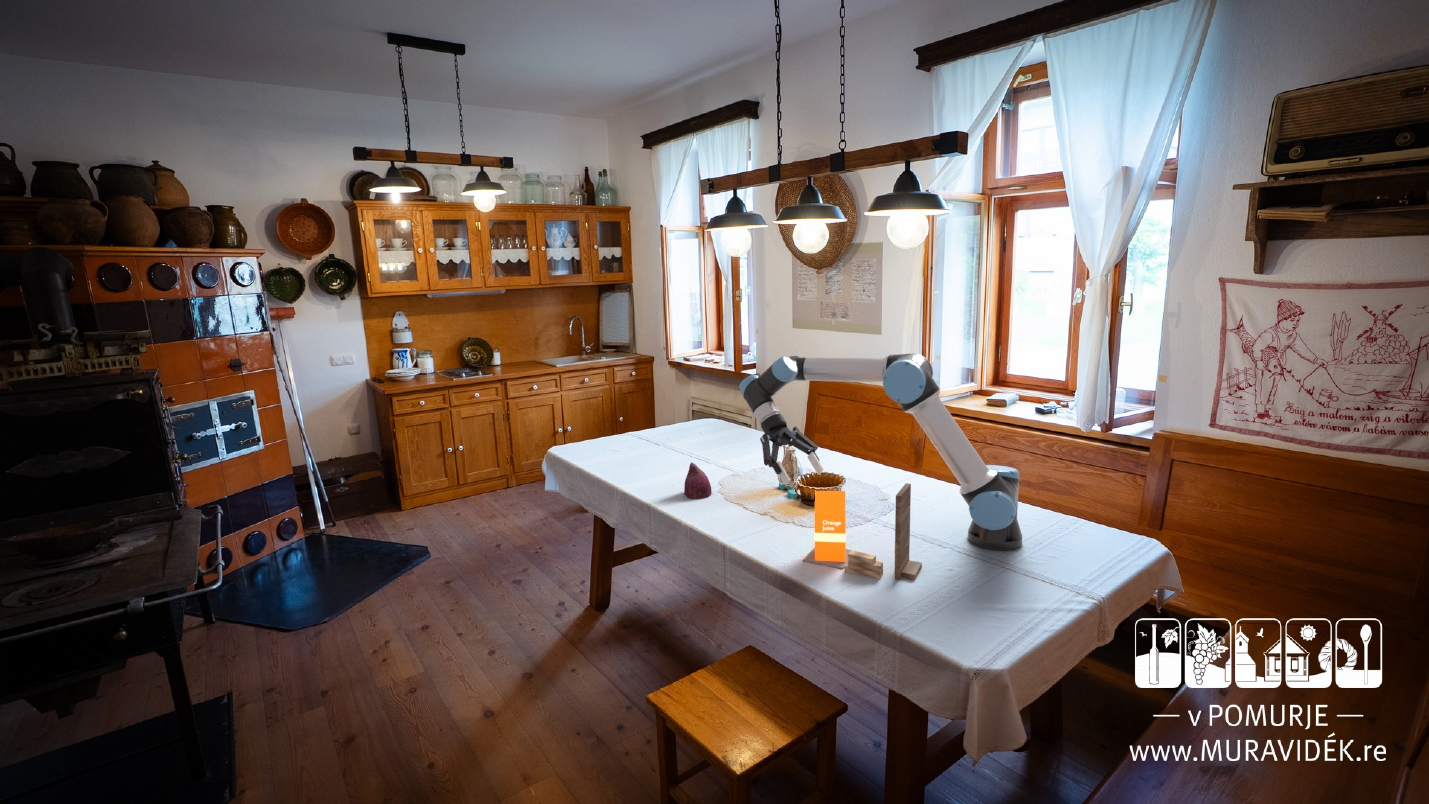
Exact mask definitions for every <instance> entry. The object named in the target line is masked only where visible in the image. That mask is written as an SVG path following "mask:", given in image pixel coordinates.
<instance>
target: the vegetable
mask: <svg viewBox="0 0 1429 804" xmlns="http://www.w3.org/2000/svg"><path fill="white" fill-rule="evenodd" d="M683 489H684V490H683V491H684V496H685V497H686V498H687V499H689V500H690V499H691V500H702V499H706V498H709V497H711V496H712V491H713V490H712V486H711V483H710V480H709V478H708V476H707V475H706V473H705V472H704V471H703V470H702V469H701V468H700V467H699V466H698V465H697V464H696V463H694V462H690V464H689V467H688V471H687V474H686V477H685V480H684V488H683Z"/></svg>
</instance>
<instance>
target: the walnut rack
mask: <svg viewBox="0 0 1429 804" xmlns="http://www.w3.org/2000/svg"><path fill="white" fill-rule="evenodd" d="M911 488H912V484H911V483H908V482H905V484H904V485H903V486H902V487H901V488H900V490H899V491H898V492H897V493H896V494H895V516H894V517H895V522H894V523H895V524H894V578H893V579H894V580H895V581H901V579H902V578H903V579H907V580H908V579H909V580H914V581H915V580H916V578H917V577H918V576H919V573H920V572H921V570H922V567H923V563H922V562H920V561H915V560H910V548H911V547H910V542H911V538H910V537H911V535H910V534H911V500H912V499H911V495H912V493H911V491H912V489H911ZM851 550H852V549H851ZM843 570H844V573H847V574H850V575H851V574H852V575H858V576H862V577H866V578H867V577H868V578H871V579H876V580H881V579H882V577H883V576H884V562H883V561H877V555H875V554H871V553H865V552H860V551H857V550H852V551H851V552H850V553H849V554H848V562H847V564H846V565H845V566H844V568H843Z"/></svg>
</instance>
